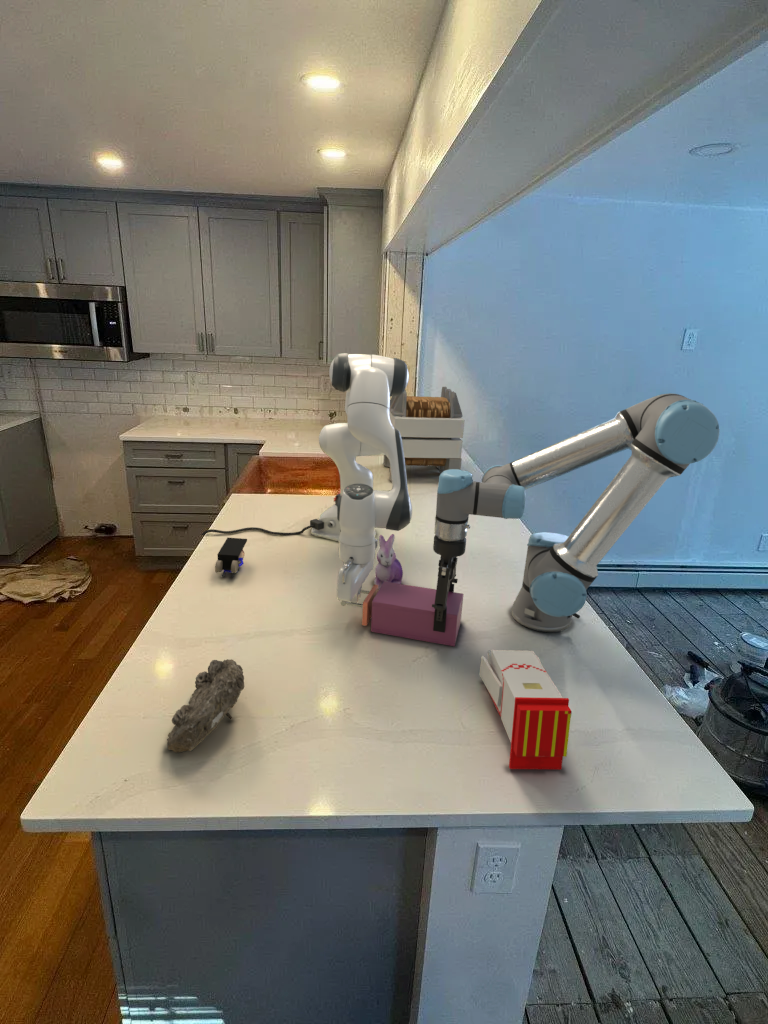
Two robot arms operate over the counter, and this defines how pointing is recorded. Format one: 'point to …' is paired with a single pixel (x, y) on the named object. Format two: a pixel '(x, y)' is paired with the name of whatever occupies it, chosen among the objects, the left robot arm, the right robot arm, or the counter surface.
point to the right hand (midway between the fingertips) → (443, 618)
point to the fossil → (206, 705)
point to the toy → (528, 708)
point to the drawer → (365, 604)
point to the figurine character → (230, 556)
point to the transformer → (429, 429)
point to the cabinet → (414, 613)
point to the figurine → (387, 563)
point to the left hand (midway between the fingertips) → (355, 600)
